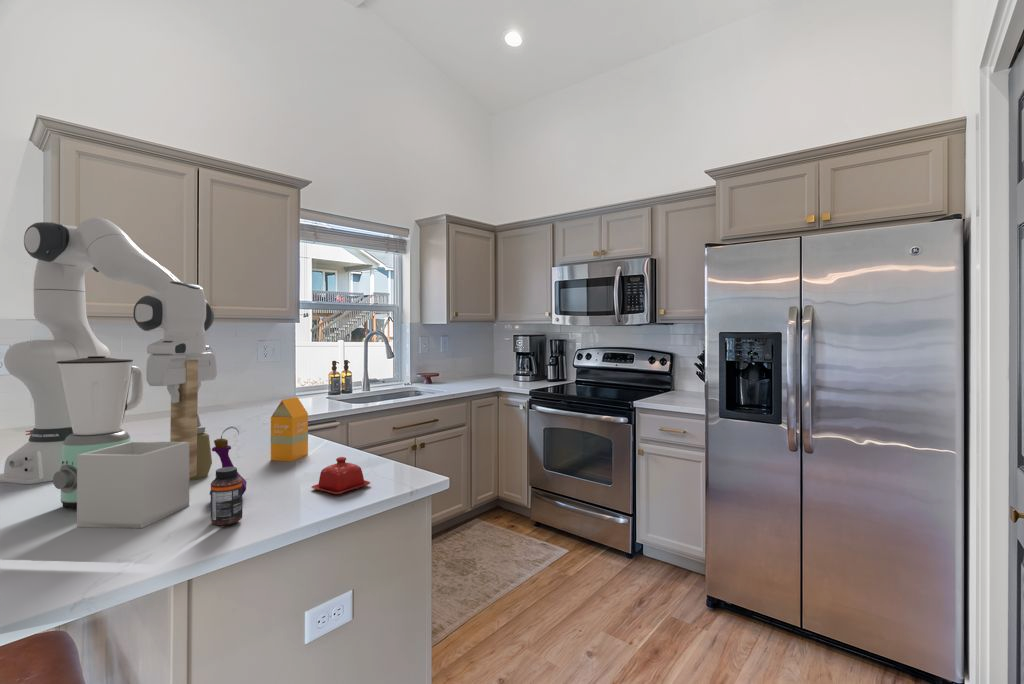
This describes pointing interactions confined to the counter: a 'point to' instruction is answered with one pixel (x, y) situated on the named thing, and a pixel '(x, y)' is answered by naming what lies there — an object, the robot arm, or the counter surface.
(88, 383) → the blender
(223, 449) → the potion bottle
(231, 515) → the supplement bottle
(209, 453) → the squeeze bottle
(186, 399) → the long wooden block
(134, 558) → the counter surface
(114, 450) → the bin
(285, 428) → the orange juice
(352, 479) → the butter dish
